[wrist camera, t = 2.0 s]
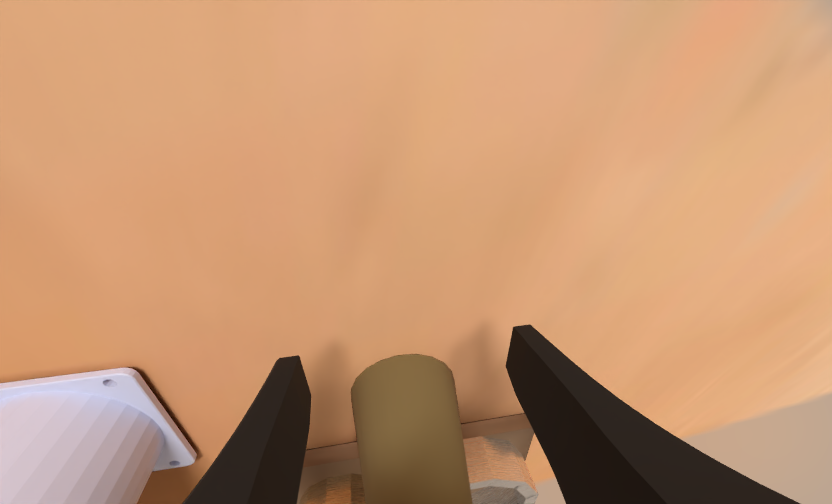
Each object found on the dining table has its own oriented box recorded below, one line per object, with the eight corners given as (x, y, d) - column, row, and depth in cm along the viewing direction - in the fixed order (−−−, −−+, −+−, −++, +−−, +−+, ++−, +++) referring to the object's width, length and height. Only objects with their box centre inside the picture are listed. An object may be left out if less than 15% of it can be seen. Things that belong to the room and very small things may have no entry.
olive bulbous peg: (454, 410, 21) (533, 696, 12) (359, 428, 20) (364, 745, 11) (454, 345, 18) (563, 670, 8) (341, 365, 17) (325, 737, 8)
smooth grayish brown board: (300, 516, 25) (298, 533, 24) (270, 456, 20) (266, 473, 19) (511, 476, 27) (515, 489, 26) (529, 412, 22) (535, 427, 22)
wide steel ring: (398, 513, 25) (402, 555, 23) (391, 451, 20) (395, 497, 18) (510, 491, 26) (524, 529, 24) (529, 427, 21) (548, 468, 19)
